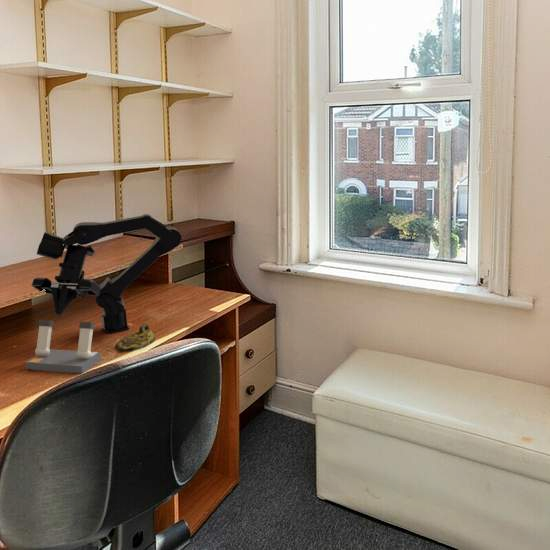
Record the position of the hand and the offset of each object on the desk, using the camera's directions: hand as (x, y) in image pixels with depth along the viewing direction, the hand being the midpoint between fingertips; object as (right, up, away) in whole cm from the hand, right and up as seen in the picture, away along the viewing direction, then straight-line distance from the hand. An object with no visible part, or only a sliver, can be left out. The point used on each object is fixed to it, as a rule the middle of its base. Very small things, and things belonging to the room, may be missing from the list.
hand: (57, 314), depth 155 cm
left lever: (0, -9, -9) cm, 13 cm away
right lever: (+11, -9, -12) cm, 19 cm away
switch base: (+5, -12, -10) cm, 17 cm away
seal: (+21, -9, +5) cm, 23 cm away
